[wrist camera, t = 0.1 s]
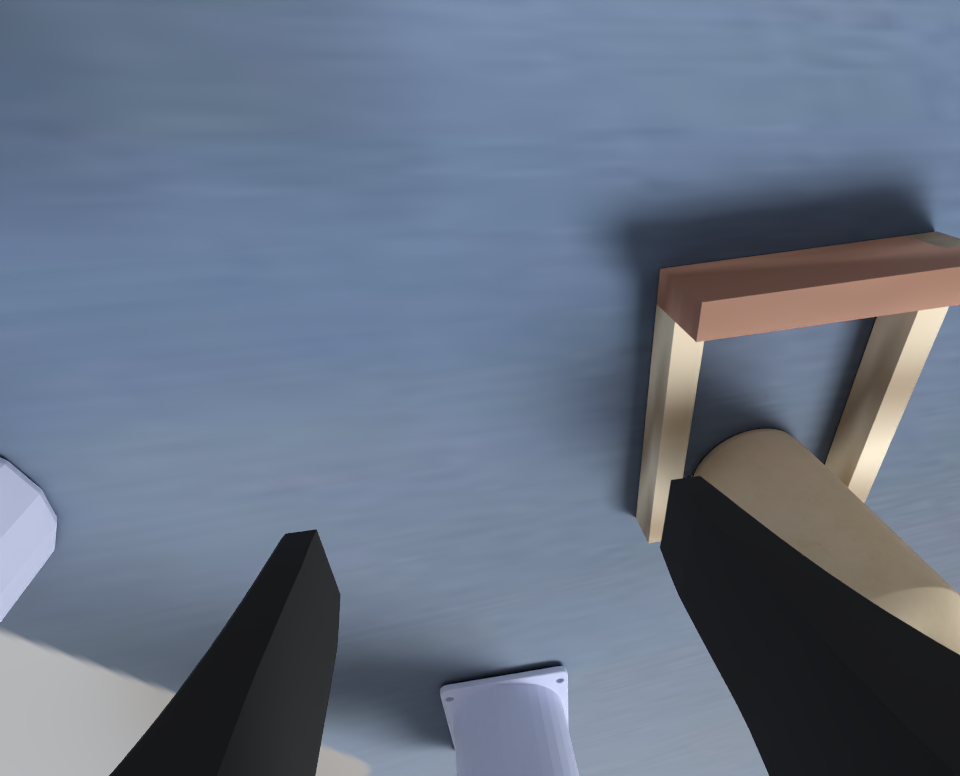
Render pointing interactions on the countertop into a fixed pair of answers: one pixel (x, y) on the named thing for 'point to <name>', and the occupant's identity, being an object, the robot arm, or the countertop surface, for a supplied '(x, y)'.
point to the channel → (793, 304)
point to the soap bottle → (22, 533)
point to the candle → (832, 528)
